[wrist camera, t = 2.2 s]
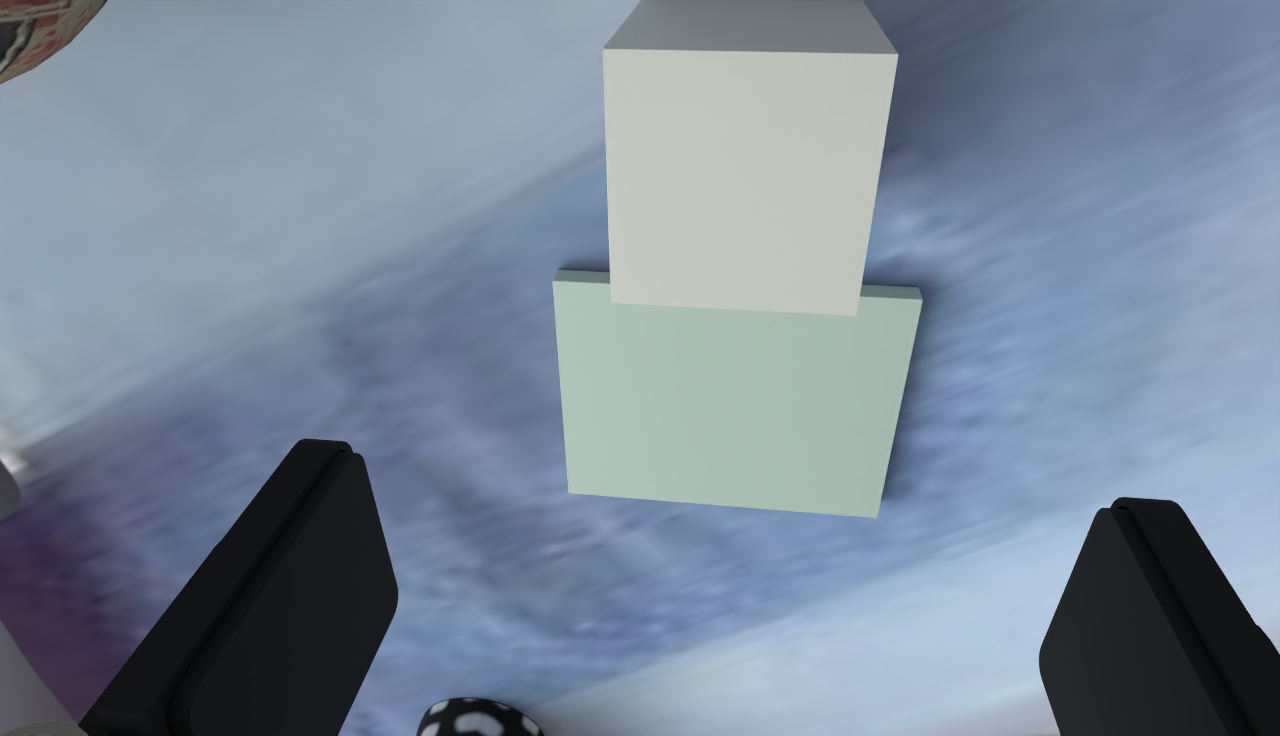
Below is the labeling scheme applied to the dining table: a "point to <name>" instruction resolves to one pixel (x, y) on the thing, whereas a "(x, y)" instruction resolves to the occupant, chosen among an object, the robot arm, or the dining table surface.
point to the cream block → (744, 152)
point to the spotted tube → (475, 720)
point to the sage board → (731, 399)
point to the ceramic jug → (39, 30)
